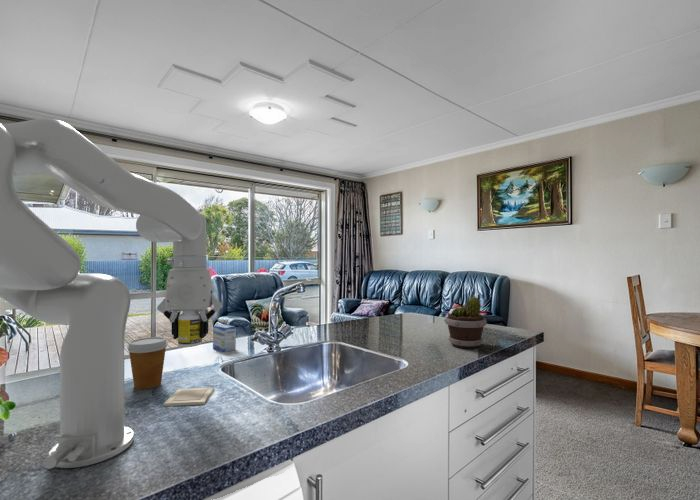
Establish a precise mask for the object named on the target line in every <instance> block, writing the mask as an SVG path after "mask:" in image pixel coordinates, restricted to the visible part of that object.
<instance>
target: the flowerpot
mask: <svg viewBox="0 0 700 500" xmlns="http://www.w3.org/2000/svg"><path fill="white" fill-rule="evenodd" d="M475 294H476V293H475ZM475 294H473V295H472V296H469V298H467V299H466V302H465V305H464V306H463V305H461V306H462V307H461V306H460V305H458V306H454V309H452V312H451V313H447V316H446V317H445V318H444V320H443V321H444V323H445V324H446V325H447V328H448V332H449V336H448V341H449V342H450V343H451V345H452V346H453V347H455V346H456V347H455V348H458V347H460V348H459V349H463V348H466V349H467V348H474V349H476V348H475V347H477V348H480V345H482V343H483V341H484V340H483V337H482V335H483V331H484V327H485V326H486V325H487V323H488V321H487V319H486V318H485V317H484V315H482V314H481V312H482V307H483V305H482V302H481V300H480V299H479V296H477V295H475Z"/></svg>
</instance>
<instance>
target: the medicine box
mask: <svg viewBox="0 0 700 500" xmlns="http://www.w3.org/2000/svg"><path fill="white" fill-rule="evenodd" d="M236 328H237V327H236V325H235V326H234V325H228V324H225V323H224V324H223V323H222V324H221V323H220V324H214V325H213V326H212V330H213V331H212V349H213V350H215V351H216V350H217V351H219V352H220V351H221V352H225V353H227V352H231V351H235V350H236V349H237V348H236V345H237V344H236V343H237V342H236V340H237V339H236V338H237V329H236Z"/></svg>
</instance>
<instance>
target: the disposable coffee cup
mask: <svg viewBox="0 0 700 500" xmlns="http://www.w3.org/2000/svg"><path fill="white" fill-rule="evenodd" d="M167 346H168V342H167V339H166V337H162V336H153V337H152V336H149V337H141V338H136V339H132V340H130V341H129V342H128V346H127V347H126V349H127V352H128V354H129V360H130V367H131V373H132V380H133V388H134V389H135V390H139V391H142V390H151V389H155V388H157V387H159V386H161V384H162V378H163V372H164V371H163V370H164V364H165V363H164V362H165V356H166V348H167Z"/></svg>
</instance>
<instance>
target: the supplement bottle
mask: <svg viewBox="0 0 700 500" xmlns="http://www.w3.org/2000/svg"><path fill="white" fill-rule="evenodd" d="M201 319H202V318H201V315H200V312H199V310H197V311H182V313H180V315H179V317H178V338H177V345H178V346H179V347H181V348H192V347H197V346H200V345H201V344H203V338H200V322H201Z"/></svg>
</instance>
